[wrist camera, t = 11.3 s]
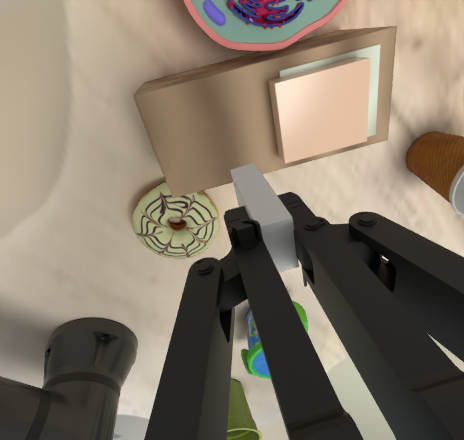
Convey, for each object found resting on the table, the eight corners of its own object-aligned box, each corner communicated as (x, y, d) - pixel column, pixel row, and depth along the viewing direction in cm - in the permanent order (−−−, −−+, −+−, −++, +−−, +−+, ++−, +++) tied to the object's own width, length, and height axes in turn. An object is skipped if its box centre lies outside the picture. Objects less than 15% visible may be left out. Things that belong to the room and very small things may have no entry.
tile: (285, 163, 27) (367, 141, 27) (274, 83, 23) (370, 57, 23) (278, 156, 29) (355, 135, 29) (268, 80, 25) (356, 56, 25)
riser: (174, 163, 38) (172, 199, 29) (145, 82, 33) (133, 96, 24) (341, 118, 38) (389, 140, 30) (340, 30, 33) (398, 26, 24)
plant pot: (191, 384, 65) (194, 443, 56) (240, 366, 64) (250, 422, 55) (212, 406, 71) (218, 462, 62) (257, 389, 71) (269, 443, 61)
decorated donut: (157, 162, 38) (155, 174, 34) (231, 200, 42) (236, 214, 39) (122, 227, 42) (117, 243, 38) (193, 255, 46) (194, 272, 43)
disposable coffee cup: (386, 183, 45) (447, 224, 35) (409, 119, 40) (487, 145, 30) (440, 181, 46) (513, 220, 36) (468, 120, 41) (562, 145, 31)
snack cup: (256, 343, 61) (269, 392, 52) (218, 326, 56) (225, 377, 48) (311, 298, 56) (334, 344, 48) (274, 275, 51) (293, 322, 43)
